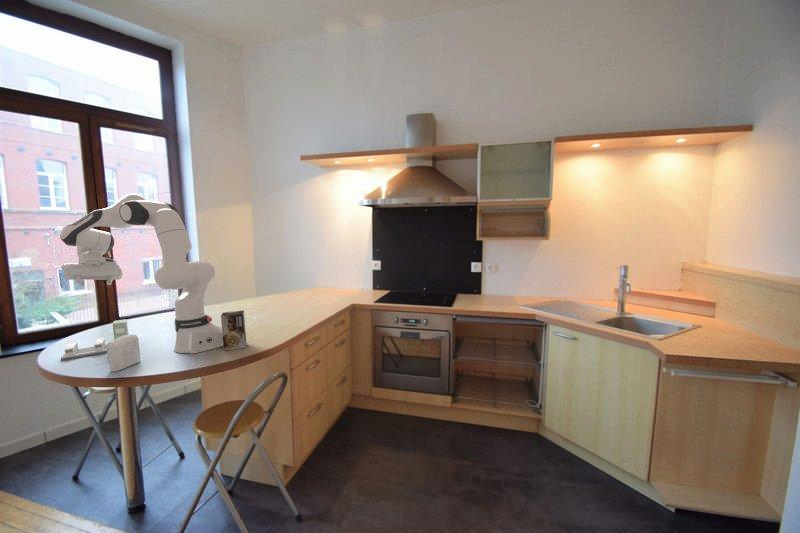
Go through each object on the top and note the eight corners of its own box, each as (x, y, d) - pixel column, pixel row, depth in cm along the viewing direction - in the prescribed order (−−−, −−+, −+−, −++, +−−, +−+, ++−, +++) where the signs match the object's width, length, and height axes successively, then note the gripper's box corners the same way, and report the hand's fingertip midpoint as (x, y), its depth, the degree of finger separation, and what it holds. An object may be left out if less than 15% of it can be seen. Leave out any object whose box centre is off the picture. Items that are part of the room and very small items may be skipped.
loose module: (129, 343, 152) (126, 319, 151) (128, 347, 147) (125, 322, 146) (116, 346, 149) (114, 320, 148) (115, 349, 144) (112, 324, 143)
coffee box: (246, 343, 151) (244, 310, 150) (245, 348, 146) (243, 313, 144) (225, 346, 148) (222, 312, 146) (223, 351, 142) (220, 315, 140)
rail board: (109, 345, 150) (108, 336, 149) (106, 352, 141) (105, 343, 140) (67, 352, 141) (65, 343, 141) (61, 360, 133) (59, 350, 132)
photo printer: (133, 360, 132) (130, 331, 131) (142, 361, 132) (139, 332, 130) (107, 371, 122) (103, 340, 121) (116, 372, 121) (113, 340, 120)
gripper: (62, 258, 146) (65, 279, 140) (120, 260, 162) (125, 279, 156) (60, 268, 148) (62, 289, 142) (117, 269, 165) (122, 288, 158)
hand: (96, 284), depth 149 cm, fingers open, 8 cm apart
